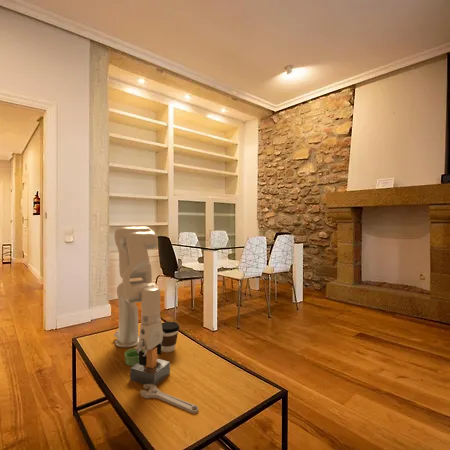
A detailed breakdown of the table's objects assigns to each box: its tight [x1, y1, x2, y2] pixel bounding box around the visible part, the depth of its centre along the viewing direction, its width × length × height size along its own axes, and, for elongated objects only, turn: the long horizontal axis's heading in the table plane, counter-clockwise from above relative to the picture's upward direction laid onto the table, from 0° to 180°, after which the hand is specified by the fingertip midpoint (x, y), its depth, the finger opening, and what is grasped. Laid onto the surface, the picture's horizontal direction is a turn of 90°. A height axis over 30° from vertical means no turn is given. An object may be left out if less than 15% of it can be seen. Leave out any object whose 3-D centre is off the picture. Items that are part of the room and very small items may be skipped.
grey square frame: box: [129, 358, 171, 387], centre depth 117 cm, size 12×11×5 cm
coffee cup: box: [161, 321, 180, 353], centre depth 141 cm, size 11×11×12 cm
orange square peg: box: [144, 347, 158, 369], centre depth 117 cm, size 3×4×12 cm
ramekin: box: [123, 347, 144, 367], centre depth 129 cm, size 9×9×4 cm
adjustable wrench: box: [139, 384, 199, 414], centre depth 102 cm, size 25×6×2 cm, turn 57°
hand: (150, 359), depth 117 cm, fingers open, 9 cm apart
